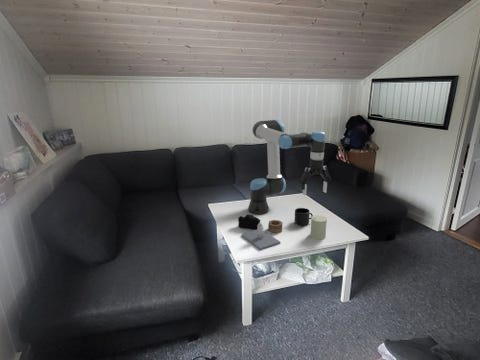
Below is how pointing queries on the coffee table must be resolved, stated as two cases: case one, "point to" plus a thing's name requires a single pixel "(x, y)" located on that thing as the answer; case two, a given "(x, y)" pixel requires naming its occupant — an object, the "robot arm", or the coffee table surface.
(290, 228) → the coffee table surface
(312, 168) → the robot arm
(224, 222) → the coffee table surface
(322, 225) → the can
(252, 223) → the film camera
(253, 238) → the post board
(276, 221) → the collar
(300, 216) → the mug
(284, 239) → the coffee table surface
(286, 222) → the coffee table surface
